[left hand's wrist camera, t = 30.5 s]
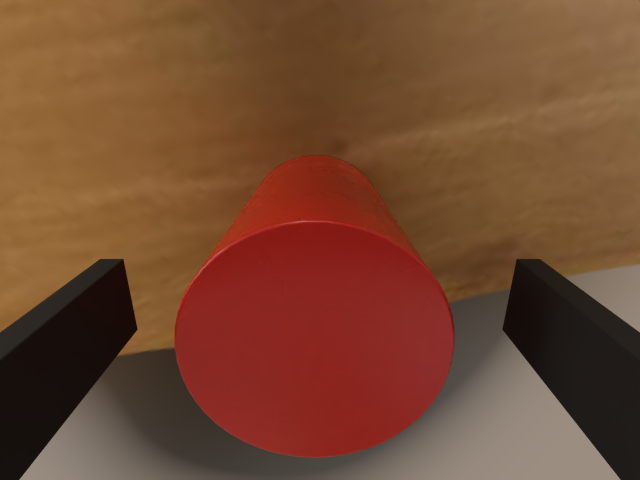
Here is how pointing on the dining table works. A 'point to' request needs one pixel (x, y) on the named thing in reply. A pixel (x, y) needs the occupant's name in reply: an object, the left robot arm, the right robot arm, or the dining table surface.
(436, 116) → the dining table surface
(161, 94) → the dining table surface
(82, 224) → the dining table surface
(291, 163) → the cylinder
